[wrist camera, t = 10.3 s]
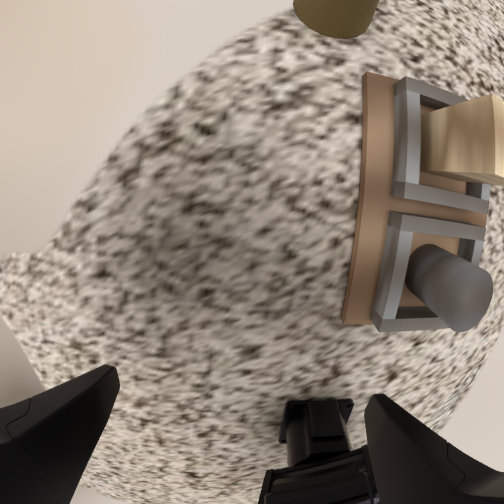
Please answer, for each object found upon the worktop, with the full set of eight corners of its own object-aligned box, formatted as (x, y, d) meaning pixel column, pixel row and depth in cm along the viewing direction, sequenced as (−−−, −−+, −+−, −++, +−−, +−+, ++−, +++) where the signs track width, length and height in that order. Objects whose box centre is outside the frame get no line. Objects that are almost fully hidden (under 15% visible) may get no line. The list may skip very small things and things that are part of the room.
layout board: (457, 315, 20) (500, 354, 13) (340, 318, 20) (368, 375, 14) (482, 116, 15) (537, 108, 9) (362, 76, 16) (403, 36, 9)
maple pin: (457, 180, 16) (534, 190, 8) (416, 170, 16) (495, 174, 9) (458, 130, 15) (532, 120, 7) (418, 116, 15) (491, 94, 7)
